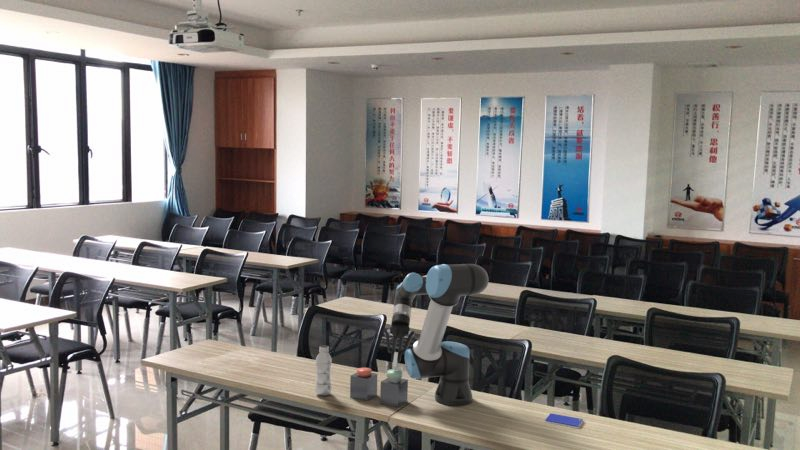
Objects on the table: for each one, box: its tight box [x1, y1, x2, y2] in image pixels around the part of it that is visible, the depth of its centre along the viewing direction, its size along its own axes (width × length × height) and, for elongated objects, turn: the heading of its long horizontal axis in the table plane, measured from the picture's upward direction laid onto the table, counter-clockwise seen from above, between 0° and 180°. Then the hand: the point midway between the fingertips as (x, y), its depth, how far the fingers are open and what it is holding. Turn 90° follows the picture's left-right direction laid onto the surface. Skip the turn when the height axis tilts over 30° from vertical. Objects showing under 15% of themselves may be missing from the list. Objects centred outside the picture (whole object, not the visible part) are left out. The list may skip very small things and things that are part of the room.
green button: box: [386, 368, 403, 383], centre depth 273 cm, size 6×6×10 cm
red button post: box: [349, 372, 378, 402], centre depth 280 cm, size 8×8×9 cm
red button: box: [356, 367, 373, 377], centre depth 280 cm, size 6×6×10 cm
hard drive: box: [544, 412, 584, 429], centre depth 259 cm, size 2×8×12 cm
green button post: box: [379, 377, 409, 408], centre depth 274 cm, size 8×8×9 cm
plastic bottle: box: [315, 345, 333, 396], centre depth 280 cm, size 6×7×20 cm
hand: (394, 368), depth 273 cm, fingers closed
